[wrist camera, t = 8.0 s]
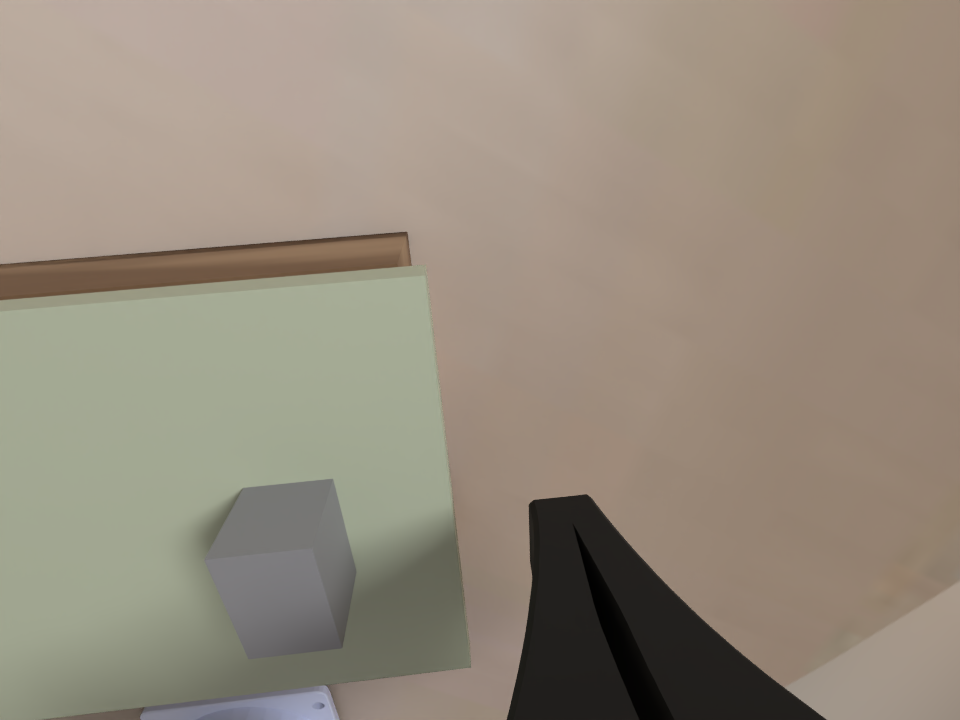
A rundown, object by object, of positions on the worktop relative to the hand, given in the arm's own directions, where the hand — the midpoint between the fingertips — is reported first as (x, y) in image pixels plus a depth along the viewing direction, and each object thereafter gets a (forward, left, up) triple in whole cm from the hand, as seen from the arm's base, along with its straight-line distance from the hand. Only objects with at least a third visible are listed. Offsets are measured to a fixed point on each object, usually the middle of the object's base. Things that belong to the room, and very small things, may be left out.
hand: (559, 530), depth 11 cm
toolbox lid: (0, +11, -5) cm, 12 cm away
